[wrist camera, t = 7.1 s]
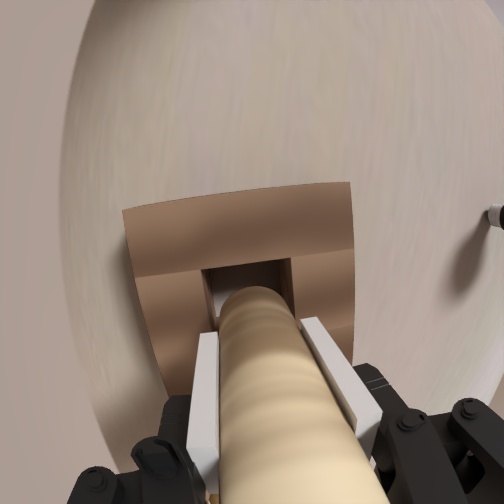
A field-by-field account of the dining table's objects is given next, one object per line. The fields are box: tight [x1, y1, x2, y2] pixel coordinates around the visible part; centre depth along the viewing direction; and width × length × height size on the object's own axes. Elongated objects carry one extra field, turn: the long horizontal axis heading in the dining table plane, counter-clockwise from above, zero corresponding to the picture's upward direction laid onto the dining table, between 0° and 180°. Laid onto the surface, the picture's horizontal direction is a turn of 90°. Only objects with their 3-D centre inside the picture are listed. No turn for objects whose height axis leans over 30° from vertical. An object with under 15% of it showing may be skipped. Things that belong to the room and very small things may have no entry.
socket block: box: [122, 182, 355, 398], centre depth 20 cm, size 14×14×5 cm
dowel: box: [218, 286, 391, 504], centre depth 9 cm, size 4×4×14 cm
